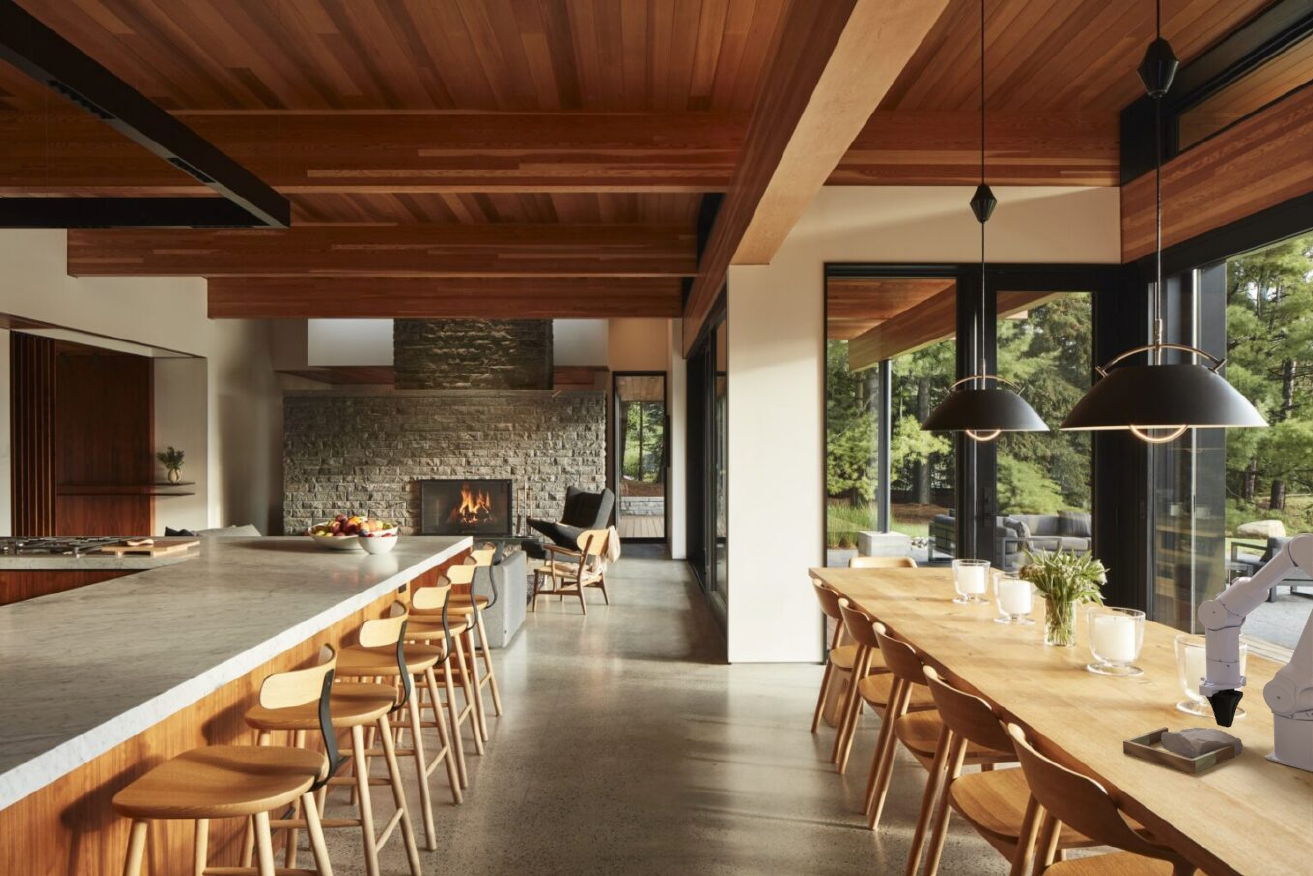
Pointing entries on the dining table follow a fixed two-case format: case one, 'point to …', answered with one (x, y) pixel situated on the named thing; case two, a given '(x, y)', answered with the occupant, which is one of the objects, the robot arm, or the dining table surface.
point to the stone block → (1199, 741)
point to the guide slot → (1141, 749)
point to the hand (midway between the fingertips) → (1224, 725)
